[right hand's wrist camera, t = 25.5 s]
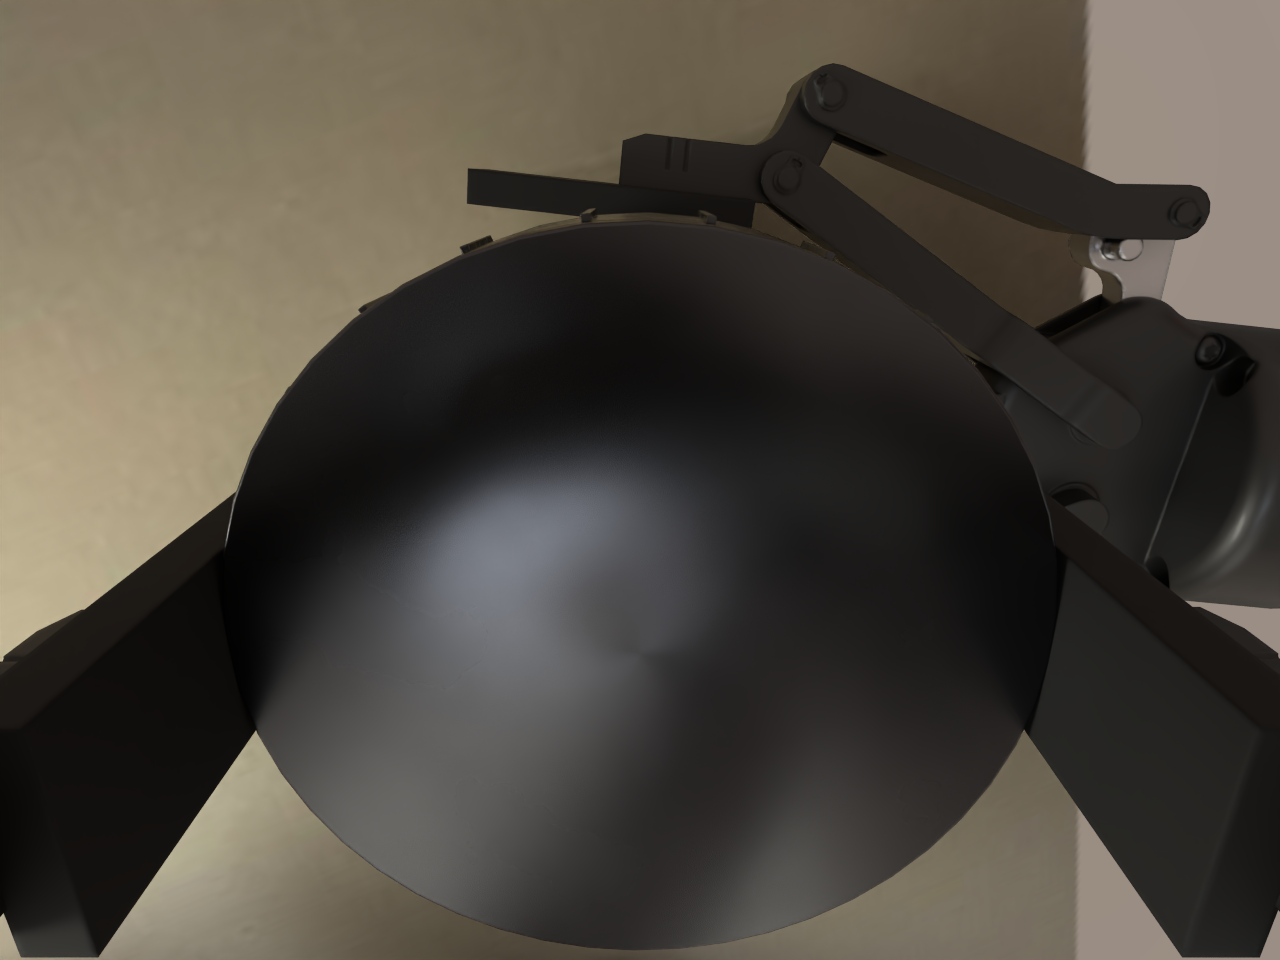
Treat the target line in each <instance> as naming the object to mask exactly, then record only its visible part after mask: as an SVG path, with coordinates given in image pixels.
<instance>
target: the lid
mask: <svg viewBox="0 0 1280 960" xmlns="http://www.w3.org/2000/svg"><path fill="white" fill-rule="evenodd" d="M580 217H581V218H575V219H570V220H565V221H560V222H555V223H549V224H544V225H539V226H536V227H534V228H531V229H528V230H525V231H522V232H519V233H516V234H513V235H510V236H507V237H504V238H501V239H498V240H495V241H493V240H492V238H491V236H490V235H489V236H486V237H484V238H481V239H479V240H476V241H473V242H471V243H468V244H466V245H463V246H461V247H460V250H461V252H462V255H460V256H457V257H455V258H453V259H452V260H450V261H448V262H446V263H444V264H442V265H440V266H438V267H436V268H434V269H432V270H430V271H428V272H426V273H424V274H422V275H420V276H418V277H416V278H414V279H412V280H410V281H408V282H406V283H404V284H402V285H401V286H399V287H398V288H397V289H395V290H394V291H392V292H391V293H388V294H386V295H384V296H382V297H380V298H378V299H376V300H373V301H371V302H369V303H367V304H365V305H363V306H362V307H361V308H360V309H358V311H359V312H360V313H361V314H360V315H358V316H357V317H356V318H354V319H353V320H352V321H351V322H350V323H349V324H348V325H347V326H345V327H344V328H343V329H342V330H341V331H340V332H339V333H338V334H337V335H336V336H335V337H334V338H333V339H332V340H331V341H330V342H329V343H328V344H327V345H326V346H325V347H324V348H322V349H321V350H320V351H319V352H318V353H317V354H316V355H315V356H314V357H313V358H312V359H311V360H310V361H309V363H308V364H307V365H306V367H305V368H304V369H303V370H302V372H301V373H300V374H299V376H298V377H297V378H296V380H295V381H294V382H293V383H292V385H291V386H290V387H288V389H287V390H286V392H285V394H284V395H283V396H282V398H281V399H280V400H279V402H278V403H277V404H276V406H275V408H274V410H273V412H272V413H271V415H270V417H269V419H268V421H267V423H266V424H265V426H264V428H263V430H262V432H261V434H260V435H259V437H258V439H257V441H256V443H255V444H254V446H253V448H252V450H251V452H250V455H249V458H248V460H247V463H246V466H245V469H244V471H243V474H242V477H241V480H240V483H239V485H238V488H237V491H236V494H235V497H234V499H233V504H232V509H231V514H230V520H229V525H228V530H227V535H226V541H225V546H224V554H223V584H222V604H223V612H224V621H225V629H226V636H227V641H228V646H229V651H230V655H231V660H232V664H233V668H234V672H235V676H236V680H237V683H238V687H239V691H240V694H241V696H242V698H243V701H244V703H245V705H246V708H247V710H248V712H249V715H250V717H251V719H252V722H253V724H254V726H255V728H256V731H257V733H258V735H259V737H260V739H261V740H262V742H263V744H264V745H265V747H266V749H267V750H268V752H269V754H270V755H271V757H272V759H273V760H274V762H275V764H276V765H277V767H278V769H279V770H280V772H281V774H282V775H283V776H284V777H285V779H286V780H287V781H288V783H289V784H290V785H291V786H292V788H293V789H294V790H295V791H296V793H297V794H298V795H299V797H300V798H301V799H302V800H303V802H304V803H305V804H306V805H307V807H308V808H309V809H310V810H311V811H312V812H313V813H314V814H315V815H316V816H317V817H318V818H319V819H320V820H321V821H322V822H323V823H324V824H325V825H326V826H327V827H328V828H329V829H330V830H331V831H332V832H333V833H334V834H335V835H336V836H337V837H338V838H339V839H340V840H341V841H342V842H343V843H344V844H346V845H347V846H348V847H349V848H351V849H352V850H353V851H355V852H356V853H357V854H358V855H360V856H361V857H362V858H363V859H365V860H366V861H367V862H369V863H370V864H371V865H372V866H374V867H375V868H376V869H377V870H379V871H381V872H382V873H384V874H385V875H387V876H389V877H390V878H392V879H393V880H395V881H397V882H398V883H400V884H401V885H403V886H405V887H406V888H408V889H409V890H411V891H413V892H414V893H416V894H418V895H420V896H422V897H424V898H426V899H428V900H430V901H432V902H434V903H436V904H438V905H440V906H442V907H445V908H447V909H449V910H451V911H453V912H455V913H457V914H460V915H462V916H465V917H468V918H471V919H473V920H476V921H479V922H481V923H484V924H487V925H490V926H492V927H495V928H498V929H501V930H505V931H509V932H513V933H517V934H520V935H524V936H528V937H532V938H536V939H540V940H544V941H550V942H557V943H563V944H569V945H576V946H582V947H589V948H605V949H622V950H655V949H680V948H688V947H696V946H703V945H711V944H719V943H726V942H730V941H734V940H739V939H743V938H747V937H752V936H756V935H760V934H765V933H769V932H772V931H775V930H778V929H781V928H784V927H787V926H790V925H793V924H796V923H799V922H802V921H805V920H808V919H811V918H813V917H815V916H818V915H820V914H822V913H824V912H826V911H829V910H831V909H833V908H835V907H837V906H840V905H842V904H844V903H846V902H849V901H851V900H853V899H855V898H856V897H858V896H860V895H861V894H863V893H865V892H867V891H868V890H870V889H872V888H873V887H875V886H877V885H879V884H880V883H882V882H884V881H885V880H887V879H889V878H891V877H892V876H894V875H895V874H896V873H898V872H899V871H900V870H902V869H903V868H904V867H906V866H907V865H909V864H910V863H911V862H913V861H914V860H915V859H917V858H918V857H919V856H921V855H922V854H923V853H925V852H926V851H927V850H929V849H930V848H931V847H932V846H933V845H934V844H935V843H936V842H937V841H938V840H939V839H941V838H942V837H943V836H944V835H945V834H946V833H947V832H948V831H949V830H950V829H951V828H952V827H953V826H954V825H956V824H957V823H958V822H959V821H960V820H961V819H962V818H963V817H964V815H965V814H966V813H967V812H968V811H969V810H970V808H971V807H972V806H973V805H974V804H975V802H976V801H977V800H978V799H979V798H980V797H981V795H982V794H983V793H984V792H985V791H986V789H987V788H988V787H989V786H990V785H991V783H992V782H993V780H994V779H995V777H996V776H997V774H998V773H999V771H1000V769H1001V768H1002V766H1003V765H1004V763H1005V762H1006V760H1007V759H1008V757H1009V756H1010V754H1011V753H1012V751H1013V749H1014V748H1015V746H1016V745H1017V742H1018V740H1019V738H1020V736H1021V734H1022V732H1023V730H1024V728H1025V726H1026V723H1027V721H1028V719H1029V717H1030V715H1031V713H1032V711H1033V709H1034V707H1035V705H1036V702H1037V698H1038V695H1039V692H1040V689H1041V686H1042V683H1043V679H1044V676H1045V673H1046V670H1047V666H1048V662H1049V657H1050V652H1051V647H1052V642H1053V636H1054V630H1055V624H1056V617H1057V584H1058V563H1057V556H1056V549H1055V542H1054V536H1053V529H1052V522H1051V515H1050V511H1049V508H1048V505H1047V501H1046V498H1045V495H1044V492H1043V489H1042V485H1041V482H1040V479H1039V476H1038V473H1037V469H1036V466H1035V463H1034V461H1033V459H1032V457H1031V455H1030V453H1029V451H1028V449H1027V447H1026V445H1025V443H1024V441H1023V439H1022V437H1021V435H1020V433H1019V431H1018V429H1017V427H1016V425H1015V423H1014V421H1013V419H1012V417H1011V415H1010V414H1009V413H1008V411H1007V410H1006V408H1005V407H1004V405H1003V404H1002V403H1001V401H1000V400H999V398H998V397H997V396H996V394H995V393H994V391H993V390H992V388H991V387H990V386H989V384H988V383H987V381H986V380H985V379H984V377H983V376H982V374H981V373H980V371H979V370H978V369H977V368H976V367H975V366H974V365H973V364H972V363H971V362H970V361H969V360H968V359H967V358H966V357H965V356H964V355H963V354H962V353H961V352H960V351H959V350H958V349H957V348H956V346H955V345H954V344H953V343H952V342H951V341H950V340H949V339H948V338H947V337H946V336H945V335H944V334H943V333H942V332H941V331H940V330H939V329H938V328H936V327H935V326H934V325H933V324H931V323H932V322H933V321H934V320H933V319H932V318H931V317H930V316H929V315H927V314H925V313H923V312H921V311H919V310H917V309H915V308H913V307H911V306H908V305H906V304H905V303H904V302H903V301H901V300H900V299H899V298H897V297H896V296H895V295H893V294H892V293H891V292H889V291H887V290H885V289H883V288H882V287H880V286H878V285H876V284H874V283H873V282H871V281H869V280H867V279H865V278H864V277H862V276H860V275H858V274H856V273H855V272H853V271H851V270H849V269H847V268H846V267H844V266H842V265H840V264H838V263H836V262H834V261H833V259H834V257H835V255H836V254H835V253H833V252H830V251H828V250H826V249H823V248H820V247H818V246H815V245H813V244H810V243H808V242H805V241H803V242H802V244H801V246H800V247H799V246H796V245H794V244H791V243H789V242H786V241H783V240H781V239H778V238H776V237H773V236H770V235H768V234H765V233H763V232H760V231H757V230H755V229H751V228H746V227H742V226H738V225H733V224H729V223H725V222H720V221H717V217H716V216H715V215H713V214H711V213H709V212H707V211H702V210H699V211H698V217H694V216H683V215H671V214H660V213H649V212H645V213H625V214H606V215H597V209H596V208H593V209H588V210H586V211H585V212H583V213H582V214H580Z"/></svg>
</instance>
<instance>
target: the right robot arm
mask: <svg viewBox="0 0 1280 960" xmlns="http://www.w3.org/2000/svg"><path fill="white" fill-rule="evenodd" d="M1043 492H1044V491H1043ZM235 494H236V492H235V493H234V494H232V495H231V496H230V497H229V498H227V499H226V500H225V501H223V502H222V503H221V504H220V505H218V506H217V507H216V508H214V509H213V510H212V511H211V512H209V513H208V514H207V515H205V516H204V517H203V518H202V519H200V520H199V521H198V522H196V523H195V524H194V525H193V526H191V527H190V528H189V529H187V530H186V531H185V532H184V533H182V534H181V535H180V536H179V537H177V538H176V539H175V540H173V541H172V542H171V543H170V544H168V545H167V546H166V547H164V548H163V549H162V550H161V551H159V552H158V553H157V554H155V555H154V556H153V557H152V558H150V559H149V560H148V561H146V562H145V563H144V564H143V565H141V566H140V567H139V568H137V569H136V570H135V571H134V572H132V573H131V574H130V575H128V576H127V577H126V578H125V579H123V580H122V581H121V582H119V583H118V584H117V585H116V586H114V587H113V588H112V589H111V590H109V591H108V592H107V593H105V594H104V595H103V596H102V597H100V598H99V599H98V600H96V601H95V602H94V603H93V604H91V605H90V606H89V607H87V608H86V609H85V610H80V611H78V612H76V613H74V614H72V615H70V616H68V617H66V618H63V619H61V620H59V621H57V622H55V623H53V624H51V625H49V626H47V627H45V628H43V629H41V630H39V631H37V632H35V633H34V634H33V635H31V636H30V637H29V638H27V639H26V640H25V641H23V642H22V643H21V644H19V645H18V646H17V647H15V648H14V649H13V650H11V651H10V652H9V653H7V654H6V655H5V656H4V659H3V662H0V917H1V915H2V914H3V913H4V915H5V917H6V920H7V923H8V925H9V928H10V930H11V933H12V936H13V938H14V941H15V943H16V946H17V948H18V951H19V954H20V956H21V957H99V955H100V954H101V953H102V951H103V950H104V948H105V947H106V945H107V944H108V943H109V941H110V940H111V938H112V937H113V935H114V934H115V932H116V931H117V930H118V928H119V927H120V925H121V924H122V922H123V921H124V919H125V918H126V917H127V915H128V914H129V912H130V911H131V909H132V908H133V907H134V905H135V904H136V902H137V901H138V899H139V898H140V896H141V895H142V894H143V892H144V891H145V889H146V888H147V886H148V885H149V883H150V882H151V881H152V879H153V878H154V876H155V875H156V873H157V872H158V870H159V869H160V868H161V866H162V865H163V863H164V862H165V860H166V859H167V858H168V856H169V855H170V853H171V852H172V850H173V849H174V847H175V846H176V845H177V843H178V842H179V840H180V839H181V837H182V836H183V834H184V833H185V832H186V830H187V829H188V827H189V826H190V824H191V823H192V821H193V820H194V819H195V817H196V816H197V814H198V813H199V811H200V810H201V809H202V807H203V806H204V804H205V803H206V801H207V800H208V798H209V797H210V796H211V794H212V793H213V791H214V790H215V788H216V787H217V785H218V784H219V783H220V781H221V780H222V778H223V777H224V775H225V774H226V773H227V771H228V770H229V768H230V767H231V765H232V764H233V762H234V761H235V760H236V758H237V757H238V755H239V754H240V752H241V751H242V749H243V748H244V747H245V745H246V744H247V742H248V741H249V739H250V738H251V736H252V735H253V734H254V732H255V731H256V728H255V726H254V724H253V722H252V719H251V717H250V715H249V712H248V710H247V708H246V705H245V703H244V701H243V698H242V696H241V694H240V691H239V687H238V683H237V680H236V676H235V672H234V668H233V664H232V660H231V655H230V651H229V646H228V641H227V636H226V629H225V621H224V612H223V604H222V584H223V554H224V546H225V541H226V535H227V530H228V525H229V520H230V514H231V509H232V504H233V499H234V497H235ZM1044 495H1045V498H1046V501H1047V505H1048V508H1049V511H1050V515H1051V522H1052V529H1053V536H1054V542H1055V549H1056V556H1057V563H1058V584H1057V617H1056V624H1055V630H1054V636H1053V642H1052V647H1051V652H1050V657H1049V662H1048V666H1047V670H1046V673H1045V676H1044V679H1043V683H1042V686H1041V689H1040V692H1039V695H1038V698H1037V702H1036V705H1035V707H1034V709H1033V711H1032V713H1031V715H1030V717H1029V719H1028V721H1027V723H1026V726H1025V728H1024V730H1025V731H1026V733H1027V734H1028V736H1029V737H1030V739H1031V740H1032V741H1033V743H1034V744H1035V746H1036V747H1037V749H1038V750H1039V752H1040V753H1041V754H1042V756H1043V757H1044V759H1045V760H1046V762H1047V763H1048V765H1049V766H1050V767H1051V769H1052V770H1053V772H1054V773H1055V775H1056V776H1057V778H1058V779H1059V780H1060V782H1061V783H1062V785H1063V786H1064V788H1065V789H1066V790H1067V792H1068V793H1069V795H1070V796H1071V798H1072V799H1073V801H1074V802H1075V803H1076V805H1077V806H1078V808H1079V809H1080V811H1081V812H1082V814H1083V815H1084V816H1085V818H1086V819H1087V821H1088V822H1089V824H1090V825H1091V826H1092V828H1093V829H1094V831H1095V832H1096V834H1097V835H1098V837H1099V838H1100V839H1101V841H1102V842H1103V844H1104V845H1105V847H1106V848H1107V850H1108V851H1109V852H1110V854H1111V855H1112V857H1113V858H1114V860H1115V861H1116V862H1117V864H1118V865H1119V867H1120V868H1121V870H1122V871H1123V873H1124V874H1125V875H1126V877H1127V878H1128V880H1129V881H1130V883H1131V884H1132V886H1133V887H1134V888H1135V890H1136V891H1137V893H1138V894H1139V896H1140V897H1141V899H1142V900H1143V901H1144V903H1145V904H1146V906H1147V907H1148V908H1149V910H1150V911H1151V913H1152V914H1153V916H1154V917H1155V919H1156V920H1157V922H1158V923H1159V924H1160V926H1161V927H1162V929H1163V930H1164V932H1165V933H1166V935H1167V936H1168V937H1169V939H1170V940H1171V942H1172V943H1173V945H1174V946H1175V948H1176V949H1177V950H1178V952H1179V953H1180V955H1181V956H1182V957H1260V955H1261V953H1262V950H1263V947H1264V945H1265V943H1266V940H1267V937H1268V935H1269V932H1270V930H1271V927H1272V924H1273V922H1274V919H1275V917H1276V914H1277V912H1278V910H1279V911H1280V659H1279V657H1278V653H1277V652H1275V651H1274V650H1273V649H1271V648H1270V647H1269V646H1267V645H1266V644H1265V643H1263V642H1262V641H1261V640H1259V639H1258V638H1257V637H1255V636H1254V635H1253V634H1251V633H1250V632H1249V631H1247V630H1246V629H1245V628H1243V627H1241V626H1239V625H1236V624H1234V623H1232V622H1230V621H1228V620H1226V619H1224V618H1222V617H1220V616H1218V615H1216V614H1213V613H1211V612H1209V611H1207V610H1205V609H1203V608H1201V607H1192V606H1191V605H1189V604H1188V603H1187V602H1185V601H1184V600H1183V599H1182V598H1180V597H1179V596H1178V595H1177V594H1175V593H1174V592H1173V591H1171V590H1170V589H1169V588H1168V587H1166V586H1165V585H1164V584H1162V583H1161V582H1160V581H1159V580H1157V579H1156V578H1155V577H1153V576H1152V575H1151V574H1150V573H1148V572H1147V571H1146V570H1144V569H1143V568H1142V567H1141V566H1139V565H1138V564H1137V563H1135V562H1134V561H1133V560H1132V559H1130V558H1129V557H1128V556H1126V555H1125V554H1124V553H1123V552H1121V551H1120V550H1119V549H1117V548H1116V547H1115V546H1114V545H1112V544H1111V543H1110V542H1108V541H1107V540H1106V539H1105V538H1103V537H1102V536H1101V535H1099V534H1098V533H1097V532H1096V531H1094V530H1093V529H1092V528H1091V527H1089V526H1088V525H1087V524H1085V523H1084V522H1083V521H1082V520H1080V519H1079V518H1078V517H1076V516H1075V515H1074V514H1073V513H1071V512H1070V511H1069V510H1067V509H1066V508H1065V507H1064V506H1062V505H1061V504H1060V503H1058V502H1057V501H1056V500H1055V499H1053V498H1052V497H1051V496H1049V495H1048V494H1047V493H1046V492H1044Z"/></svg>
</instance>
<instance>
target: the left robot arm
mask: <svg viewBox="0 0 1280 960" xmlns="http://www.w3.org/2000/svg"><path fill="white" fill-rule="evenodd" d="M831 143H835V144H837V145H840V146H842V147H844V148H847V149H849V150H851V151H854V152H856V153H859V154H861V155H863V156H866V157H868V158H871V159H873V160H875V161H878V162H880V163H882V164H885V165H887V166H890V167H892V168H894V169H897V170H899V171H901V172H904V173H906V174H909V175H911V176H913V177H916V178H918V179H920V180H923V181H925V182H928V183H930V184H932V185H935V186H937V187H939V188H942V189H944V190H947V191H949V192H951V193H954V194H956V195H959V196H961V197H963V198H966V199H968V200H970V201H973V202H975V203H978V204H980V205H982V206H985V207H987V208H989V209H992V210H994V211H997V212H999V213H1001V214H1004V215H1006V216H1008V217H1011V218H1013V219H1016V220H1018V221H1020V222H1023V223H1026V224H1029V225H1031V226H1034V227H1037V228H1041V229H1046V230H1051V231H1056V232H1063V233H1071V236H1070V238H1069V240H1068V246H1069V248H1070V252H1071V256H1072V258H1073V259H1074V261H1075V262H1076V263H1077V264H1079V265H1080V266H1083V267H1087V268H1090V269H1093V270H1094V271H1095V272H1097V273H1098V275H1099V276H1100V278H1101V280H1102V284H1103V290H1102V294H1100V295H1097V296H1095V297H1093V298H1091V299H1089V300H1087V301H1085V302H1083V303H1081V304H1079V305H1077V306H1075V307H1074V308H1072V309H1070V310H1068V311H1066V312H1064V313H1062V314H1060V315H1058V316H1056V317H1054V318H1053V319H1051V320H1049V321H1047V322H1045V323H1043V324H1041V325H1039V326H1037V327H1035V328H1032V327H1031V326H1029V325H1028V324H1027V323H1025V322H1024V321H1022V320H1021V319H1019V318H1017V317H1016V316H1014V315H1012V314H1011V313H1009V312H1007V311H1006V310H1004V309H1003V308H1002V307H1000V306H999V305H998V304H996V303H995V302H994V301H993V300H991V299H990V298H989V297H987V296H986V295H985V294H984V293H982V292H981V291H980V290H978V289H977V288H976V287H975V286H973V285H972V284H971V283H969V282H968V281H967V280H965V279H964V278H963V277H962V276H960V275H959V274H958V273H956V272H955V271H954V270H953V269H951V268H950V267H949V266H947V265H946V264H945V263H944V262H942V261H941V260H940V259H938V258H937V257H936V256H935V255H933V254H932V253H931V252H929V251H928V250H927V249H925V248H924V247H923V246H922V245H920V244H919V243H918V242H916V241H915V240H914V239H913V238H911V237H910V236H909V235H907V234H906V233H905V232H904V231H902V230H901V229H900V228H898V227H897V226H896V225H895V224H893V223H892V222H891V221H889V220H888V219H887V218H885V217H884V216H883V215H882V214H880V213H879V212H878V211H876V210H875V209H874V208H873V207H871V206H870V205H869V204H867V203H866V202H865V201H864V200H862V199H861V198H860V197H858V196H857V195H856V194H855V193H853V192H852V191H851V190H849V189H848V188H847V187H845V186H844V185H843V184H842V183H840V182H839V181H838V180H836V179H835V178H834V177H833V176H831V175H830V174H829V173H827V172H826V171H825V170H824V169H822V168H821V167H820V164H821V162H822V160H823V158H824V156H825V154H826V152H827V151H828V149H829V147H830V145H831ZM755 202H756V203H763V204H765V205H766V206H767V207H769V208H770V209H771V210H773V211H774V212H775V213H777V214H778V215H779V216H781V217H782V218H783V219H785V220H786V221H787V222H789V223H790V224H791V225H793V226H794V227H795V228H797V229H798V230H799V231H801V232H802V233H803V234H805V235H806V236H807V237H809V238H810V239H811V240H813V241H814V242H815V243H817V244H818V245H819V246H821V247H822V248H823V249H826V250H828V251H830V252H833V253H835V254H836V255H835V258H837V259H838V260H839V261H841V262H842V263H843V264H845V265H846V266H847V267H849V268H850V269H851V270H853V271H854V272H855V273H857V274H858V275H860V276H862V277H864V278H865V279H867V280H869V281H871V282H873V283H874V284H876V285H878V286H880V287H882V288H883V289H885V290H887V291H889V292H891V293H892V294H893V295H895V296H896V297H897V298H899V299H900V300H901V301H903V302H904V303H905V304H906V305H908V306H911V307H913V308H915V309H917V310H919V311H921V312H923V313H925V314H927V315H929V316H930V317H931V318H932V319H933V320H934V321H933V322H932V323H931V324H933V325H934V326H935V327H936V328H938V329H939V330H940V331H941V332H942V333H943V334H944V335H945V336H946V337H947V338H948V339H949V340H950V341H951V342H952V343H953V344H954V345H955V346H956V348H957V349H958V350H959V351H960V352H961V353H962V354H963V355H964V356H966V357H967V358H968V359H970V360H971V361H972V362H974V363H975V365H974V366H975V367H976V368H977V369H978V370H979V371H980V373H981V374H982V376H983V377H984V379H985V380H986V381H987V383H988V384H989V386H990V387H991V388H992V390H993V391H994V393H995V394H996V396H997V397H998V398H999V400H1000V401H1001V403H1002V404H1003V405H1004V407H1005V408H1006V410H1007V411H1008V413H1009V414H1010V415H1011V417H1012V419H1013V421H1014V423H1015V425H1016V427H1017V429H1018V431H1019V433H1020V435H1021V437H1022V439H1023V441H1024V443H1025V445H1026V447H1027V449H1028V451H1029V453H1030V455H1031V457H1032V459H1033V461H1034V463H1035V466H1036V469H1037V473H1038V476H1039V479H1040V482H1041V485H1042V489H1043V491H1044V492H1046V493H1047V494H1048V495H1049V496H1051V497H1052V498H1053V499H1055V500H1056V501H1057V502H1058V503H1060V504H1061V505H1062V506H1064V507H1065V508H1066V509H1067V510H1069V511H1070V512H1071V513H1073V514H1074V515H1075V516H1076V517H1078V518H1079V519H1080V520H1082V521H1083V522H1084V523H1085V524H1087V525H1088V526H1089V527H1091V528H1092V529H1093V530H1094V531H1096V532H1097V533H1098V534H1099V535H1101V536H1102V537H1103V538H1105V539H1106V540H1107V541H1108V542H1110V543H1111V544H1112V545H1114V546H1115V547H1116V548H1117V549H1119V550H1120V551H1121V552H1123V553H1124V554H1125V555H1126V556H1128V557H1129V558H1130V559H1132V560H1133V561H1134V562H1135V563H1137V564H1138V565H1139V566H1141V567H1142V568H1143V569H1144V570H1146V571H1147V572H1148V573H1150V574H1151V575H1152V576H1153V577H1155V578H1156V579H1157V580H1159V581H1160V582H1161V583H1162V584H1164V585H1165V586H1166V587H1168V588H1169V589H1170V590H1171V591H1173V592H1174V593H1175V594H1177V595H1178V596H1179V597H1180V598H1182V599H1183V600H1185V601H1196V602H1206V603H1217V604H1227V605H1238V606H1249V607H1259V608H1270V609H1271V608H1280V329H1273V328H1264V327H1254V326H1245V325H1236V324H1226V323H1217V322H1208V321H1199V320H1190V319H1186V318H1184V317H1183V316H1181V315H1180V314H1178V313H1177V312H1176V311H1175V310H1174V309H1173V308H1172V307H1171V306H1169V305H1168V304H1167V303H1165V302H1163V301H1161V298H1162V294H1163V289H1164V285H1165V281H1166V277H1167V273H1168V269H1169V264H1170V260H1171V256H1172V252H1173V247H1174V244H1175V240H1180V239H1185V238H1188V237H1190V236H1192V235H1193V234H1195V233H1197V232H1198V231H1199V230H1200V229H1201V227H1202V226H1203V225H1204V224H1205V222H1206V220H1207V218H1208V215H1209V213H1210V200H1209V198H1208V195H1207V193H1206V192H1205V191H1204V190H1202V189H1201V188H1200V187H1197V186H1192V185H1160V184H1115V183H1113V182H1111V181H1108V180H1106V179H1104V178H1101V177H1099V176H1097V175H1094V174H1092V173H1090V172H1088V171H1085V170H1083V169H1081V168H1078V167H1076V166H1074V165H1071V164H1069V163H1067V162H1065V161H1062V160H1060V159H1058V158H1055V157H1053V156H1051V155H1048V154H1046V153H1044V152H1042V151H1039V150H1037V149H1035V148H1032V147H1030V146H1028V145H1025V144H1023V143H1021V142H1019V141H1016V140H1014V139H1012V138H1009V137H1007V136H1005V135H1002V134H1000V133H998V132H996V131H993V130H991V129H989V128H986V127H984V126H982V125H979V124H977V123H975V122H973V121H970V120H968V119H966V118H963V117H961V116H959V115H956V114H954V113H952V112H950V111H947V110H945V109H943V108H940V107H938V106H936V105H933V104H931V103H929V102H927V101H924V100H922V99H920V98H917V97H915V96H913V95H911V94H908V93H906V92H904V91H901V90H899V89H897V88H894V87H892V86H890V85H888V84H885V83H883V82H881V81H878V80H876V79H874V78H871V77H869V76H867V75H865V74H862V73H860V72H858V71H855V70H853V69H851V68H848V67H846V66H844V65H839V64H834V63H832V64H829V65H825V66H822V67H820V68H818V69H817V70H815V71H813V72H812V73H810V74H808V75H807V76H805V77H803V78H802V79H800V80H799V81H798V82H796V83H795V84H794V85H793V86H792V87H791V89H790V91H789V92H788V94H787V98H786V103H785V105H784V107H783V109H782V111H781V113H780V115H779V117H778V119H777V121H776V123H775V125H774V127H773V128H772V130H771V131H770V133H769V135H768V136H767V137H766V138H765V139H764V140H762V141H761V142H759V143H758V144H756V145H740V144H731V143H722V142H714V141H705V140H696V139H687V138H679V137H669V136H662V135H653V134H643V135H640V136H636V137H633V138H630V139H627V140H623V145H622V156H621V167H620V178H619V184H613V183H605V182H596V181H587V180H578V179H569V178H560V177H551V176H543V175H534V174H525V173H516V172H507V171H498V170H489V169H469V168H468V187H467V204H474V205H483V206H492V207H501V208H510V209H519V210H528V211H537V212H546V213H555V214H564V215H573V216H580V214H582V213H583V212H585V211H586V210H588V209H593V208H596V209H597V215H606V214H625V213H645V212H649V213H660V214H671V215H683V216H694V217H698V211H699V210H702V211H707V212H709V213H711V214H713V215H715V216H716V217H717V221H720V222H725V223H729V224H733V225H738V226H742V227H746V228H751V227H752V220H753V214H754V207H755Z"/></svg>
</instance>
